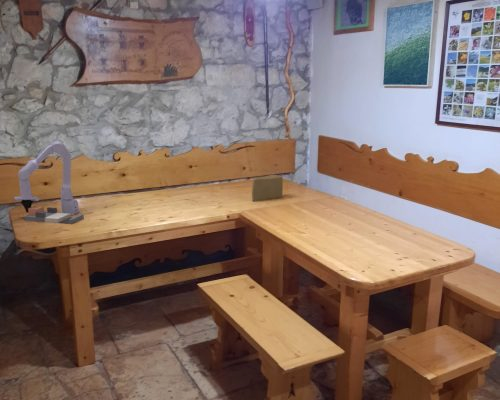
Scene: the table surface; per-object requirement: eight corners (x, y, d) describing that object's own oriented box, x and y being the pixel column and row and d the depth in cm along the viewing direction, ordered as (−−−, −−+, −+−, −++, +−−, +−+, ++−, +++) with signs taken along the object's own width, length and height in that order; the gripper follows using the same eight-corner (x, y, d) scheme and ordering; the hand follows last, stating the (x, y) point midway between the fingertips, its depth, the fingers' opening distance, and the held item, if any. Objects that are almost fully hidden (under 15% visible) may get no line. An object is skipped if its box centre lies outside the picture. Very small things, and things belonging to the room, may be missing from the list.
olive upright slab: (257, 203, 325) (256, 180, 321) (248, 200, 333) (247, 178, 329) (283, 197, 338) (283, 175, 334) (274, 195, 345) (273, 173, 342)
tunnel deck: (83, 218, 296) (82, 209, 294) (71, 224, 285) (70, 214, 284) (38, 215, 305) (36, 206, 303) (24, 220, 294) (23, 211, 293)
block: (44, 213, 300) (43, 206, 299) (37, 215, 294) (36, 209, 293) (35, 212, 301) (35, 206, 300) (29, 215, 296) (28, 208, 295)
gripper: (40, 188, 299) (43, 210, 302) (17, 188, 300) (20, 210, 304) (34, 191, 292) (37, 213, 295) (11, 190, 294) (14, 213, 297)
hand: (28, 212), depth 299 cm, fingers closed
